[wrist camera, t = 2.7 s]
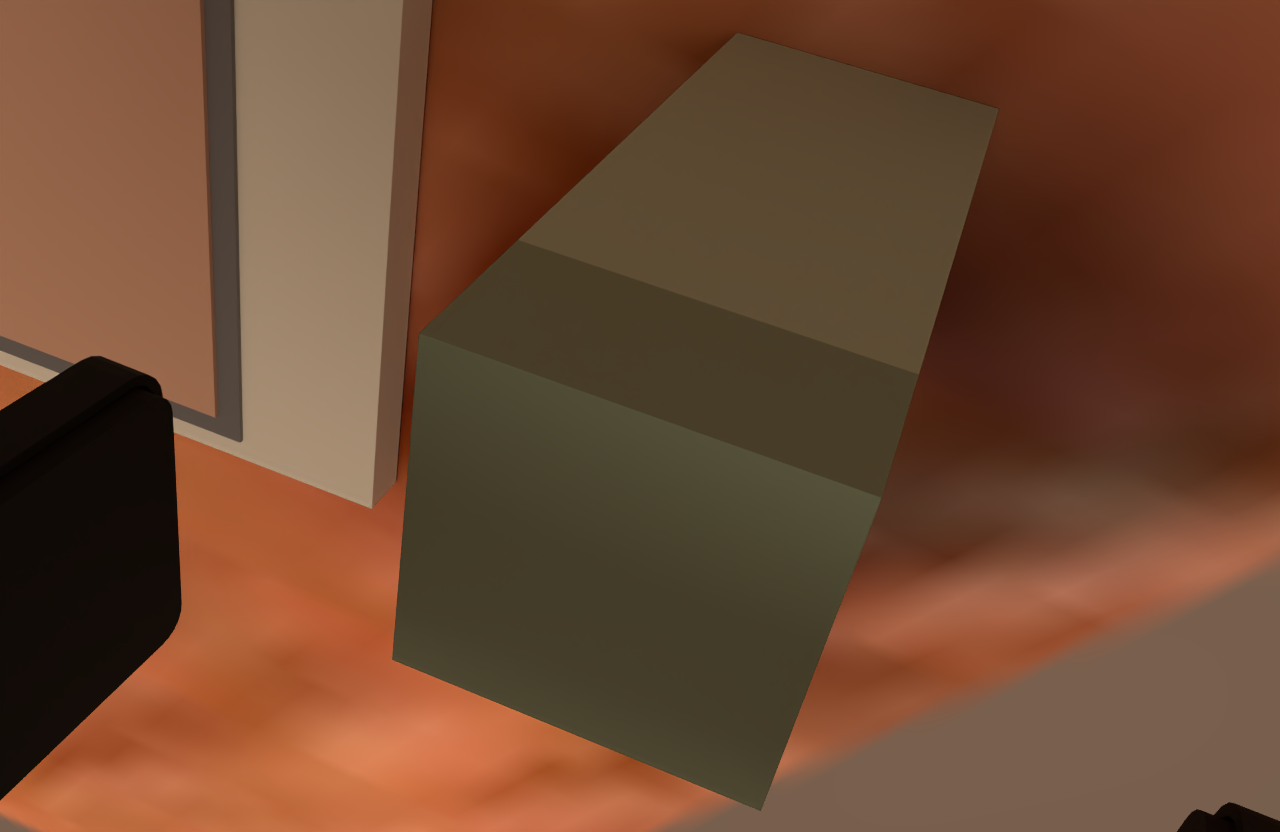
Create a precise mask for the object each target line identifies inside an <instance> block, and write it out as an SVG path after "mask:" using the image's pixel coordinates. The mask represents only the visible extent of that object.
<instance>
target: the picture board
mask: <svg viewBox="0 0 1280 832" xmlns="http://www.w3.org/2000/svg"><path fill="white" fill-rule="evenodd" d="M431 13H432V0H0V365H1V366H4V367H7V368H9V369H12V370H14V371H17V372H20V373H22V374H25V375H27V376H30V377H32V378H35V379H38V380H40V381H43V382H47V381H49V380H50V379H52V378H53V377H55V376H57V375H58V374H60V373H61V372H63V371H65V370H66V369H68V368H70V367H71V366H73V365H74V364H76V363H78V362H79V361H81V360H83V359H86V358H88V357H90V356H102V357H105V358H107V359H110V360H112V361H115V362H117V363H120V364H122V365H125V366H127V367H130V368H132V369H135V370H138V371H140V372H143V373H145V374H148V375H150V376H152V377H154V378H156V379H157V381H158V382H159V384H160V385H161V389H162V394H163V398H165V399H167V400H168V401H169V402H170V404H171V406H172V411H173V428H174V433H177V434H180V435H182V436H185V437H187V438H190V439H193V440H195V441H198V442H200V443H203V444H205V445H208V446H211V447H213V448H216V449H218V450H221V451H224V452H226V453H229V454H231V455H234V456H236V457H239V458H242V459H244V460H247V461H249V462H252V463H255V464H257V465H260V466H262V467H265V468H267V469H270V470H273V471H275V472H278V473H280V474H283V475H286V476H288V477H291V478H293V479H296V480H298V481H301V482H304V483H306V484H309V485H311V486H314V487H316V488H319V489H322V490H324V491H327V492H329V493H332V494H335V495H337V496H340V497H342V498H345V499H347V500H350V501H353V502H355V503H358V504H360V505H363V506H366V507H368V508H371V509H372V508H373V507H374V506H375V505H376V504H377V502H378V501H379V500H380V499H381V498H382V497H383V496H384V495H385V494H386V492H387V491H388V490H389V489H390V488H391V487H392V486H393V485H394V484H395V482H396V475H397V462H398V448H399V435H400V422H401V409H402V396H403V383H404V369H405V356H406V343H407V330H408V317H409V303H410V290H411V277H412V264H413V251H414V238H415V224H416V211H417V198H418V185H419V172H420V158H421V145H422V132H423V119H424V106H425V93H426V79H427V66H428V53H429V40H430V27H431Z"/></svg>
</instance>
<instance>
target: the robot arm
mask: <svg viewBox="0 0 1280 832" xmlns="http://www.w3.org/2000/svg"><path fill="white" fill-rule="evenodd" d="M181 605H182V602H181V580H180V558H179V537H178V515H177V493H176V471H175V449H174V428H173V411H172V406H171V404H170V402H169V401H168V400H167V399H165V398H163V394H162V389H161V385H160V384H159V382H158V381H157V379H156V378H154V377H152V376H150V375H148V374H145V373H143V372H140V371H138V370H135V369H132V368H130V367H127V366H125V365H122V364H120V363H117V362H115V361H112V360H110V359H107V358H105V357H102V356H90V357H88V358H86V359H83V360H81V361H79V362H78V363H76V364H74V365H73V366H71V367H70V368H68V369H66V370H65V371H63V372H61V373H60V374H58V375H57V376H55V377H53V378H52V379H50V380H49V381H47V382H45V383H44V384H42V385H41V386H39V387H37V388H36V389H34V390H33V391H31V392H29V393H28V394H26V395H24V396H23V397H21V398H20V399H18V400H16V401H15V402H13V403H12V404H10V405H8V406H7V407H5V408H4V409H2V410H0V800H1V799H2V798H3V797H4V796H5V795H6V794H7V793H9V792H10V791H11V790H12V789H13V788H14V787H15V786H16V785H17V784H18V783H19V782H20V781H21V780H22V779H23V778H24V777H25V776H26V775H27V774H28V773H29V772H30V771H31V770H32V769H34V768H35V767H36V766H37V765H38V764H39V763H40V762H41V761H42V760H43V759H44V758H45V757H46V756H47V755H48V754H49V753H50V752H51V751H52V750H53V749H54V748H55V747H56V746H57V745H58V744H60V743H61V742H62V741H63V740H64V739H65V738H66V737H67V736H68V735H69V734H70V733H71V732H72V731H73V730H74V729H75V728H76V727H77V726H78V725H79V724H80V723H81V722H82V721H83V720H85V719H86V718H87V717H88V716H89V715H90V714H91V713H92V712H93V711H94V710H95V709H96V708H97V707H98V706H99V705H100V704H101V703H102V702H103V701H104V700H105V699H106V698H107V697H108V696H110V695H111V694H112V693H113V692H114V691H115V690H116V689H117V688H118V687H119V686H120V685H121V684H122V683H123V682H124V681H125V680H126V679H127V678H128V677H129V676H130V675H131V674H132V673H133V672H134V671H136V670H137V669H138V668H139V667H140V666H141V665H142V664H143V663H144V662H145V661H146V660H147V659H148V658H149V657H150V656H151V655H152V654H153V653H154V652H155V651H156V650H157V649H158V648H159V647H161V646H162V645H163V644H164V642H165V641H166V640H167V639H168V638H169V636H170V635H171V633H172V632H173V630H174V629H175V626H176V624H177V622H178V620H179V616H180V613H181ZM1177 832H1280V821H1278V820H1275V819H1273V818H1270V817H1268V816H1265V815H1263V814H1260V813H1258V812H1255V811H1252V810H1250V809H1247V808H1245V807H1242V806H1240V805H1237V804H1234V803H1230V802H1229V803H1227V804H1225V805H1223V806H1222V807H1221V808H1220V809H1219V810H1218V811H1217V812H1216V814H1214V815H1212V814H1209V813H1207V812H1204V811H1202V810H1195V811H1193V812H1192V813H1191V814H1190V815H1189V816H1188V817H1187V818H1186V820H1185V821H1184V823H1183V824H1182V825H1181V827H1180V828H1179V829H1178V831H1177Z"/></svg>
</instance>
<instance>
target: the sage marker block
mask: <svg viewBox="0 0 1280 832" xmlns="http://www.w3.org/2000/svg"><path fill="white" fill-rule="evenodd" d="M998 111H999V109H998V108H994V107H991V106H988V105H984V104H981V103H977V102H974V101H970V100H967V99H964V98H960V97H957V96H953V95H950V94H947V93H943V92H940V91H936V90H933V89H929V88H926V87H923V86H919V85H916V84H912V83H909V82H905V81H902V80H899V79H895V78H892V77H888V76H885V75H881V74H878V73H875V72H871V71H868V70H864V69H861V68H858V67H854V66H851V65H847V64H844V63H840V62H837V61H834V60H830V59H827V58H823V57H820V56H816V55H813V54H810V53H806V52H803V51H799V50H796V49H792V48H789V47H786V46H782V45H779V44H775V43H772V42H768V41H765V40H762V39H758V38H755V37H751V36H748V35H745V34H741V33H738V32H737V33H736V34H735V35H734V36H733V37H732V38H731V39H730V40H729V41H728V42H727V43H726V44H725V45H724V46H723V47H722V48H720V49H719V50H718V51H717V52H716V53H715V54H714V55H713V56H712V57H711V58H710V59H709V60H708V61H707V62H706V63H705V64H704V65H702V66H701V67H700V68H699V69H698V70H697V71H696V72H695V73H694V74H693V75H692V76H691V77H690V78H689V79H688V80H687V81H686V82H684V83H683V84H682V85H681V86H680V87H679V88H678V89H677V90H676V91H675V92H674V93H673V94H672V95H671V96H670V97H669V98H668V99H666V100H665V101H664V102H663V103H662V104H661V105H660V106H659V107H658V108H657V109H656V110H655V111H654V112H653V113H652V114H651V115H650V116H648V117H647V118H646V119H645V120H644V121H643V122H642V123H641V124H640V125H639V126H638V127H637V128H636V129H635V130H634V131H633V132H632V133H631V134H629V135H628V136H627V137H626V138H625V139H624V140H623V141H622V142H621V143H620V144H619V145H618V146H617V147H616V148H615V149H614V150H613V151H611V152H610V153H609V154H608V155H607V156H606V157H605V158H604V159H603V160H602V161H601V162H600V163H599V164H598V165H597V166H596V167H595V168H593V169H592V170H591V171H590V172H589V173H588V174H587V175H586V176H585V177H584V178H583V179H582V180H581V181H580V182H579V183H578V184H577V185H575V186H574V187H573V188H572V189H571V190H570V191H569V192H568V193H567V194H566V195H565V196H564V197H563V198H562V199H561V200H560V201H559V202H557V203H556V204H555V205H554V206H553V207H552V208H551V209H550V210H549V211H548V212H547V213H546V214H545V215H544V216H543V217H542V218H541V219H539V220H538V221H537V222H536V223H535V224H534V225H533V226H532V227H531V228H530V229H529V230H528V231H527V232H526V233H525V234H524V235H523V236H522V237H520V238H519V239H518V240H517V241H516V242H515V243H514V244H513V245H512V246H511V247H510V248H509V249H508V250H507V251H506V252H505V253H504V254H502V255H501V256H500V257H499V258H498V259H497V260H496V261H495V262H494V263H493V264H492V265H491V266H490V267H489V268H488V269H487V270H486V271H484V272H483V273H482V274H481V275H480V276H479V277H478V278H477V279H476V280H475V281H474V282H473V283H472V284H471V285H470V286H469V287H468V288H466V289H465V290H464V291H463V292H462V293H461V294H460V295H459V296H458V297H457V298H456V299H455V300H454V301H453V302H452V303H451V304H450V305H448V306H447V307H446V308H445V309H444V310H443V311H442V312H441V313H440V314H439V315H438V316H437V317H436V318H435V319H434V320H433V321H432V322H430V323H429V324H428V325H427V326H426V327H425V328H424V329H423V330H422V331H421V332H420V333H419V341H418V353H417V365H416V377H415V389H414V401H413V413H412V426H411V438H410V450H409V462H408V474H407V486H406V498H405V510H404V522H403V535H402V547H401V559H400V571H399V583H398V595H397V607H396V619H395V631H394V644H393V656H392V660H394V661H397V662H399V663H402V664H404V665H407V666H409V667H411V668H414V669H416V670H419V671H421V672H424V673H426V674H428V675H431V676H433V677H436V678H438V679H441V680H443V681H446V682H448V683H450V684H453V685H455V686H458V687H460V688H463V689H465V690H467V691H470V692H472V693H475V694H477V695H480V696H482V697H484V698H487V699H489V700H492V701H494V702H497V703H499V704H502V705H504V706H506V707H509V708H511V709H514V710H516V711H519V712H521V713H523V714H526V715H528V716H531V717H533V718H536V719H538V720H540V721H543V722H545V723H548V724H550V725H553V726H555V727H558V728H560V729H562V730H565V731H567V732H570V733H572V734H575V735H577V736H579V737H582V738H584V739H587V740H589V741H592V742H594V743H596V744H599V745H601V746H604V747H606V748H609V749H611V750H614V751H616V752H618V753H621V754H623V755H626V756H628V757H631V758H633V759H635V760H638V761H640V762H643V763H645V764H648V765H650V766H652V767H655V768H657V769H660V770H662V771H665V772H667V773H670V774H672V775H674V776H677V777H679V778H682V779H684V780H687V781H689V782H691V783H694V784H696V785H699V786H701V787H704V788H706V789H708V790H711V791H713V792H716V793H718V794H721V795H723V796H725V797H728V798H730V799H733V800H735V801H738V802H740V803H743V804H745V805H748V806H750V807H752V808H755V809H757V810H760V811H761V809H762V807H763V804H764V801H765V799H766V796H767V794H768V791H769V788H770V786H771V783H772V781H773V778H774V775H775V773H776V770H777V768H778V765H779V763H780V760H781V757H782V755H783V752H784V750H785V747H786V744H787V742H788V739H789V737H790V734H791V731H792V729H793V726H794V724H795V721H796V719H797V716H798V713H799V711H800V708H801V706H802V703H803V700H804V698H805V695H806V693H807V690H808V687H809V685H810V682H811V680H812V677H813V674H814V672H815V669H816V667H817V664H818V662H819V659H820V656H821V654H822V651H823V649H824V646H825V643H826V641H827V638H828V636H829V633H830V630H831V628H832V625H833V623H834V620H835V618H836V615H837V612H838V610H839V607H840V605H841V602H842V599H843V597H844V594H845V592H846V589H847V586H848V584H849V581H850V579H851V576H852V573H853V571H854V568H855V566H856V563H857V561H858V558H859V555H860V553H861V550H862V548H863V545H864V542H865V540H866V537H867V535H868V532H869V529H870V527H871V524H872V522H873V519H874V517H875V514H876V511H877V509H878V506H879V504H880V501H881V498H882V495H883V492H884V489H885V485H886V482H887V479H888V475H889V472H890V469H891V465H892V462H893V459H894V455H895V452H896V449H897V445H898V442H899V439H900V436H901V432H902V429H903V426H904V422H905V419H906V416H907V412H908V409H909V406H910V402H911V399H912V396H913V392H914V389H915V386H916V383H917V379H918V376H919V373H920V369H921V366H922V363H923V359H924V356H925V353H926V349H927V346H928V343H929V339H930V336H931V333H932V329H933V326H934V323H935V320H936V316H937V313H938V310H939V306H940V303H941V300H942V296H943V293H944V290H945V286H946V283H947V280H948V276H949V273H950V270H951V266H952V263H953V260H954V257H955V253H956V250H957V247H958V243H959V240H960V237H961V233H962V230H963V227H964V223H965V220H966V217H967V213H968V210H969V207H970V203H971V200H972V197H973V194H974V190H975V187H976V184H977V180H978V177H979V174H980V170H981V167H982V164H983V160H984V157H985V154H986V150H987V147H988V144H989V141H990V137H991V134H992V131H993V127H994V124H995V121H996V117H997V114H998Z"/></svg>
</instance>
